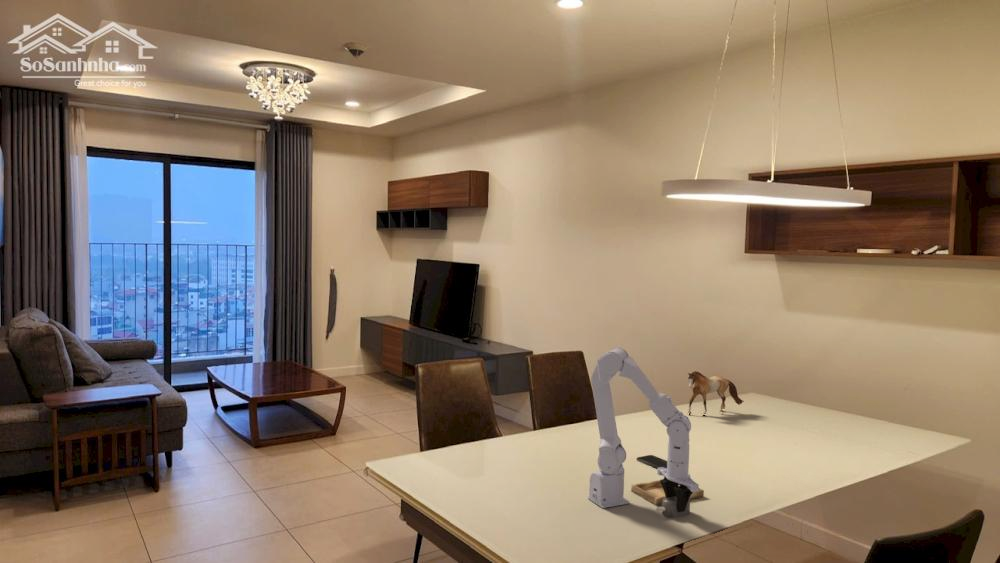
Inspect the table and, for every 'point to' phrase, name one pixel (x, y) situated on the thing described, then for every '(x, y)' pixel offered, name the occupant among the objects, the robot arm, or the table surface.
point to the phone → (652, 461)
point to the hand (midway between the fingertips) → (676, 508)
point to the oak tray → (657, 492)
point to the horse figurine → (711, 388)
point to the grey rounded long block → (672, 507)
